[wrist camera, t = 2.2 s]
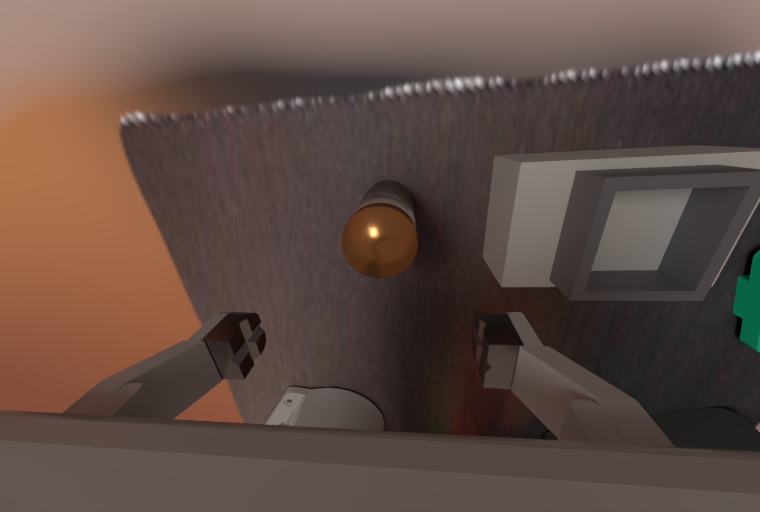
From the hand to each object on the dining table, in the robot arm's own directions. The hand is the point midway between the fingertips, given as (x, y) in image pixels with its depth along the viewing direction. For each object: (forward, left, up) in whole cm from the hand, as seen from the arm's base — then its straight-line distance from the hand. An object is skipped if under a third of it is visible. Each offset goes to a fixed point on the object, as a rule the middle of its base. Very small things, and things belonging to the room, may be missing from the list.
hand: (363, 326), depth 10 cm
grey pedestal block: (+12, -13, -18) cm, 25 cm away
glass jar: (0, 0, -18) cm, 18 cm away
